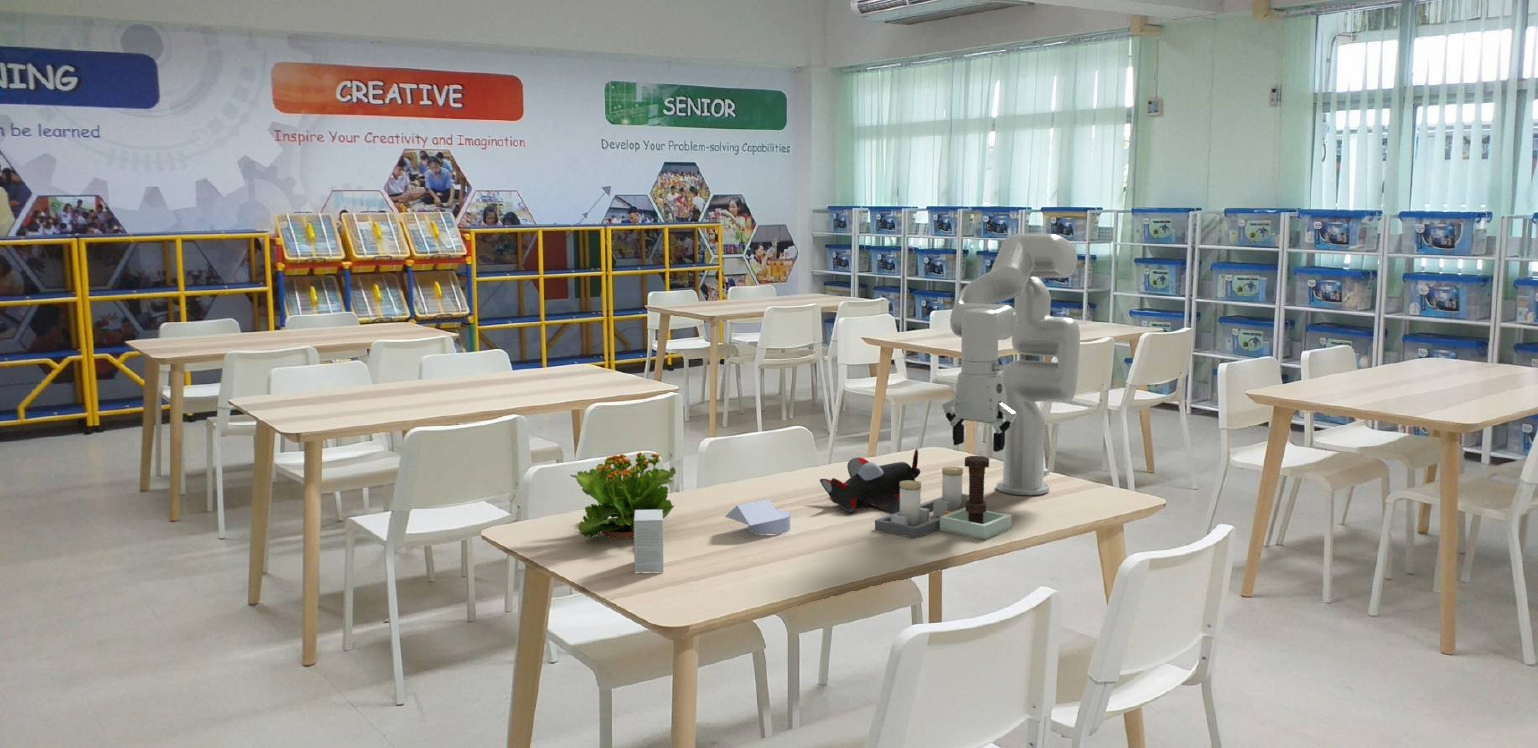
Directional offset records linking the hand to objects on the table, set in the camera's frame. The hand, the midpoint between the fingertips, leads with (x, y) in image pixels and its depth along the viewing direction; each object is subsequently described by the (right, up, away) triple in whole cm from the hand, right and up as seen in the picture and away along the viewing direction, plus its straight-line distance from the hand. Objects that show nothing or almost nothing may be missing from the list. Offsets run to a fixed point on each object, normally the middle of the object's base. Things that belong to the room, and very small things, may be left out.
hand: (978, 447), depth 250 cm
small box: (-68, -22, -23) cm, 75 cm away
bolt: (0, -17, +2) cm, 18 cm away
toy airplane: (-20, -15, +25) cm, 35 cm away
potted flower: (-75, -18, +2) cm, 77 cm away
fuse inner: (-3, -16, +16) cm, 23 cm away
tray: (0, -18, +2) cm, 18 cm away
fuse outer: (-14, -18, +3) cm, 23 cm away
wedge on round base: (-46, -18, +2) cm, 50 cm away
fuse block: (-9, -17, +10) cm, 21 cm away
